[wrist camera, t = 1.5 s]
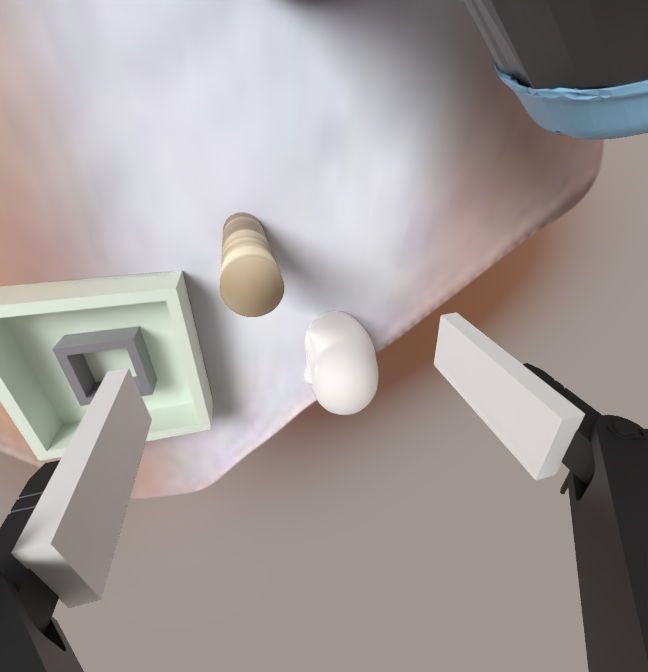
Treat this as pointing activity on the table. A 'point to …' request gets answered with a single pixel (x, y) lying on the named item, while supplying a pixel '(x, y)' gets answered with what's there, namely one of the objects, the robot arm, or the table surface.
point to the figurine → (340, 363)
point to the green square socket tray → (100, 354)
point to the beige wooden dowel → (248, 268)
